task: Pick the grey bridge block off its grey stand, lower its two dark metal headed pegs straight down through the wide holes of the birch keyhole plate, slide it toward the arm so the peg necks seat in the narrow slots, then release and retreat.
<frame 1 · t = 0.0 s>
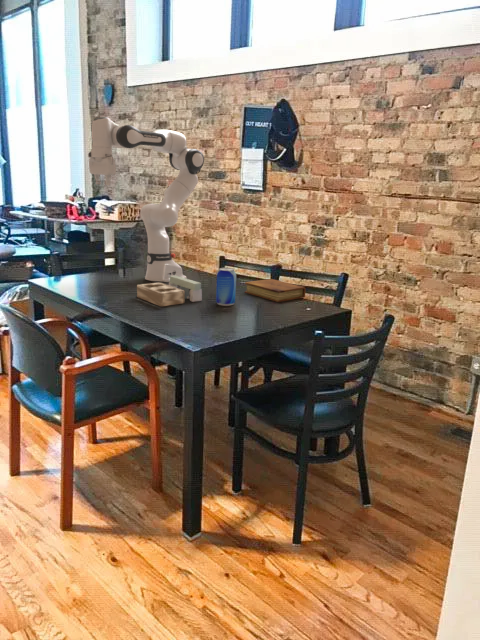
hand: (102, 184, 248), 48 cm above the table, tool pointing down, fingers open, 8 cm apart
keyhole plate: (160, 300, 234), on the table
beer can: (225, 305, 233), on the table
grey bridge block: (184, 296, 242), resting on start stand
diary: (274, 296, 257), on the table
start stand: (184, 297, 242), on the table
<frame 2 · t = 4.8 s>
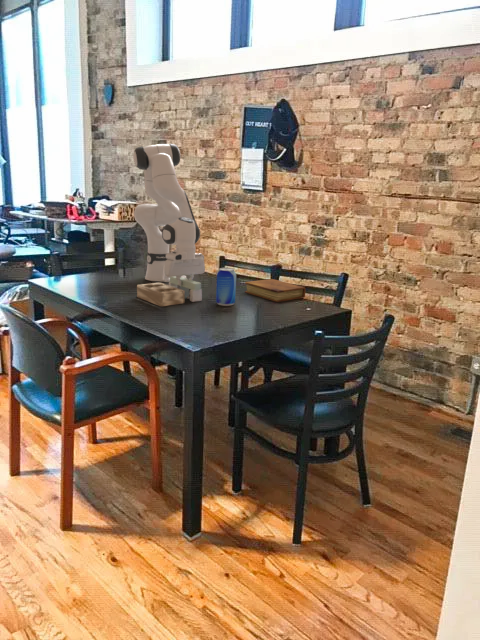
hand: (184, 284, 241), 6 cm above the table, tool pointing down, fingers closed on grey bridge block, 3 cm apart
grey bridge block: (184, 296, 242), resting on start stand, touching gripper
everything else where it was.
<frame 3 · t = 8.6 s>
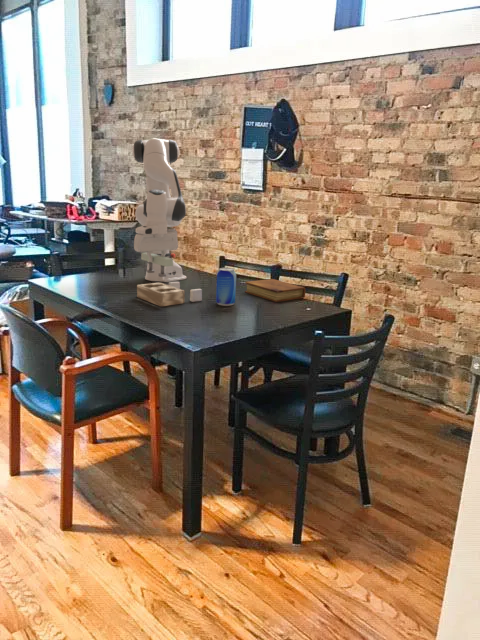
hand: (156, 261, 228), 18 cm above the table, tool pointing down, fingers closed on grey bridge block, 3 cm apart
grey bridge block: (156, 274, 229), point 12 cm above the table, touching gripper
everything else where it was.
when the fingers open (7 cm above the table, at t = 12.6 s): grey bridge block stays where it is, resting on keyhole plate.
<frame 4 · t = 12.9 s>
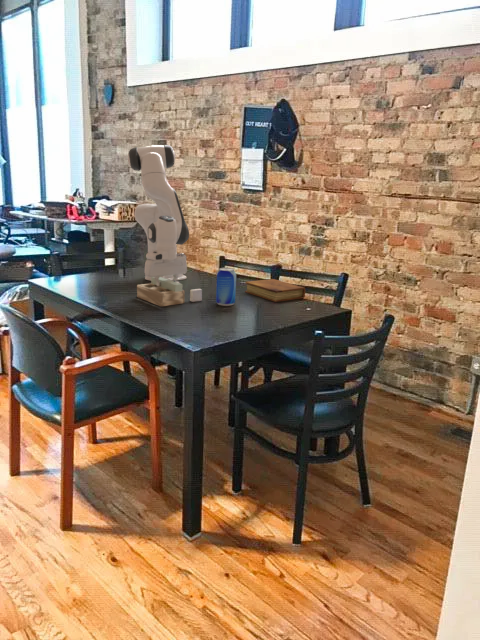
hand: (166, 285, 234), 7 cm above the table, tool pointing down, fingers open, 6 cm apart
grey bridge block: (166, 297, 236), point 1 cm above the table, touching keyhole plate
everything else where it was.
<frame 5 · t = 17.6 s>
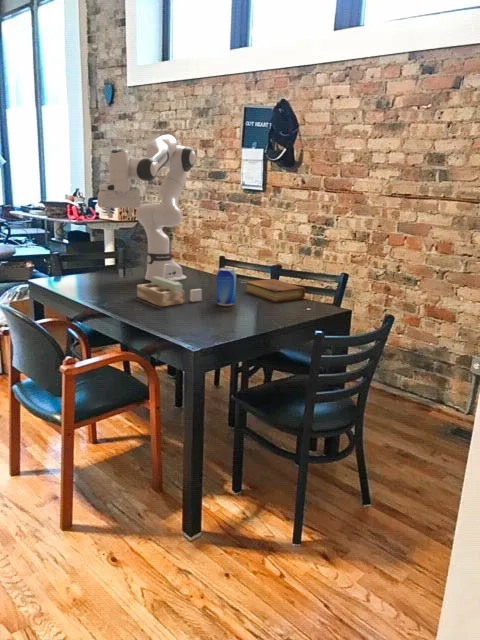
hand: (119, 217, 241), 34 cm above the table, tool pointing down, fingers open, 8 cm apart
nothing on the table moved.
at the end: grey bridge block 0.1 cm from the target spot on the keyhole plate, point 1.0 cm above the keyhole plate's base; grey bridge block tilted 0°; the gripper is holding nothing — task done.
